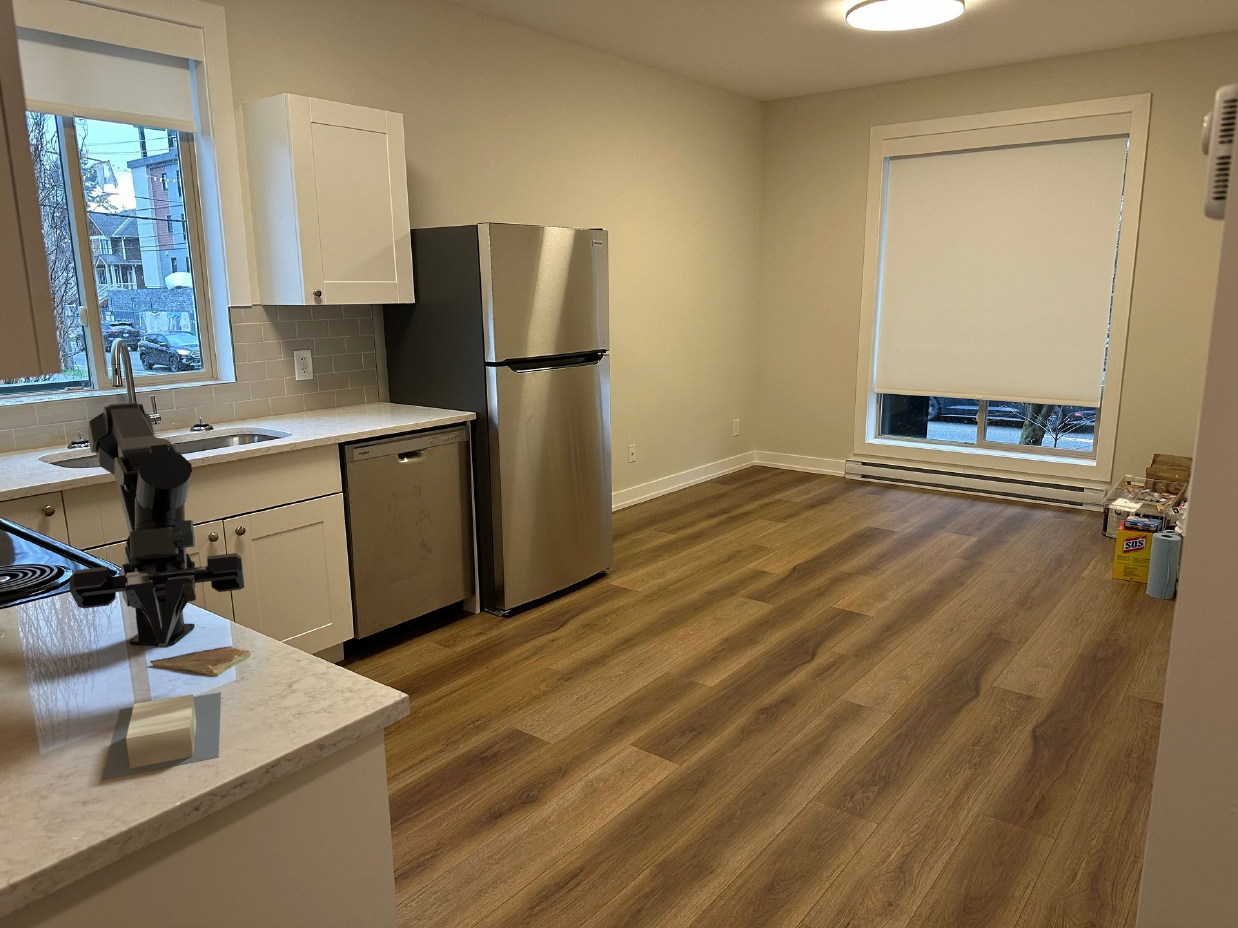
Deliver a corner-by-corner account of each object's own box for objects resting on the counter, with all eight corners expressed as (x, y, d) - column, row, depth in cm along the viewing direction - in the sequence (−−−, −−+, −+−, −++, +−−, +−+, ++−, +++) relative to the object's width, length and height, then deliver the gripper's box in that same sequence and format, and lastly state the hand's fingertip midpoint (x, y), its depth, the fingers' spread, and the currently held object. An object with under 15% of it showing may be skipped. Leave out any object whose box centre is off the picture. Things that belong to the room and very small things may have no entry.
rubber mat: (120, 711, 103) (120, 708, 103) (221, 694, 107) (221, 691, 107) (102, 783, 89) (101, 779, 89) (218, 760, 93) (218, 756, 93)
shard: (150, 671, 115) (149, 658, 114) (193, 648, 122) (192, 636, 121) (217, 683, 111) (215, 670, 111) (257, 659, 119) (256, 646, 118)
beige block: (134, 703, 97) (126, 738, 90) (193, 693, 99) (189, 726, 92) (137, 731, 98) (130, 768, 91) (196, 721, 100) (193, 756, 93)
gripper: (61, 506, 100) (55, 630, 93) (235, 492, 107) (243, 606, 100) (81, 549, 109) (77, 666, 102) (241, 533, 116) (248, 641, 109)
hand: (162, 644), depth 103 cm, fingers closed
